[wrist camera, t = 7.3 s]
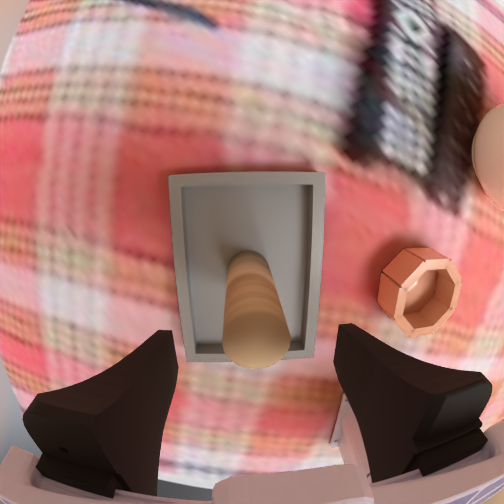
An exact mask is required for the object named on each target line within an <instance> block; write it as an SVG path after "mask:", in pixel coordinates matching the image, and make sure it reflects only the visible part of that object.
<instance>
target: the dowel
mask: <svg viewBox="0 0 504 504" xmlns="http://www.w3.org/2000/svg"><path fill="white" fill-rule="evenodd" d="M290 342H291V336H290V332H289V329H288V325H287V322H286V319H285V316H284V312H283V309H282V306H281V303H280V299H279V296H278V293H277V290H276V286H275V283H274V280H273V277H272V274H271V270H270V267H269V264H268V262H267V260H266V259H265V257H264V256H262V255H261V254H260V253H258V252H255V251H243V252H240V253H238V254H236V255H235V256H234V257H233V258H232V259H231V260H230V262H229V264H228V268H227V280H226V293H225V307H224V321H223V336H222V345H223V349H224V352H225V354H226V355H227V356H228V358H229V359H230V360H231V361H233V362H234V363H236V364H237V365H240V366H242V367H246V368H253V369H256V368H264V367H268V366H271V365H273V364H275V363H276V362H278V361H279V360H281V359H282V358H283V357H284V355H285V354H286V353H287V351H288V349H289V347H290Z"/></svg>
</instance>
